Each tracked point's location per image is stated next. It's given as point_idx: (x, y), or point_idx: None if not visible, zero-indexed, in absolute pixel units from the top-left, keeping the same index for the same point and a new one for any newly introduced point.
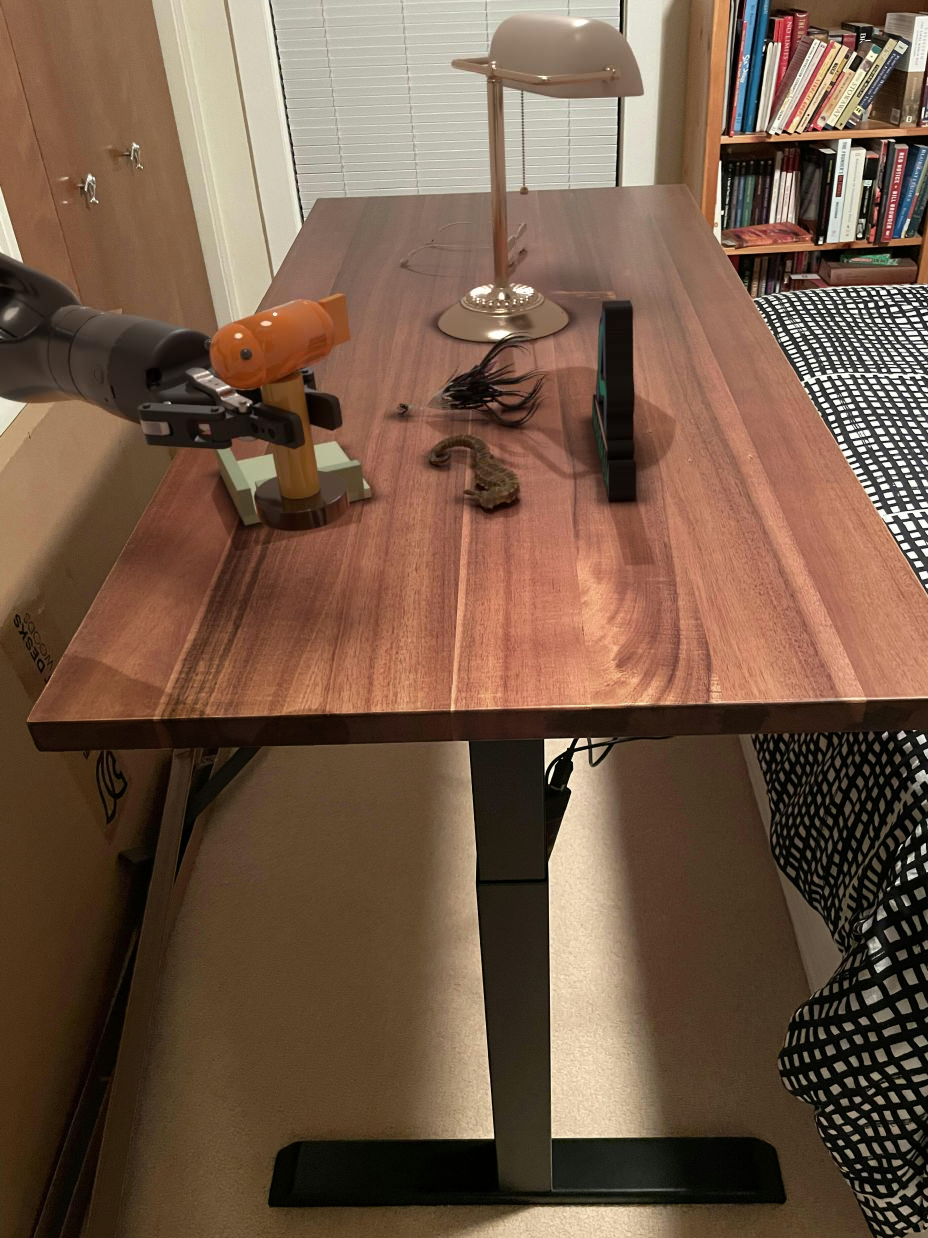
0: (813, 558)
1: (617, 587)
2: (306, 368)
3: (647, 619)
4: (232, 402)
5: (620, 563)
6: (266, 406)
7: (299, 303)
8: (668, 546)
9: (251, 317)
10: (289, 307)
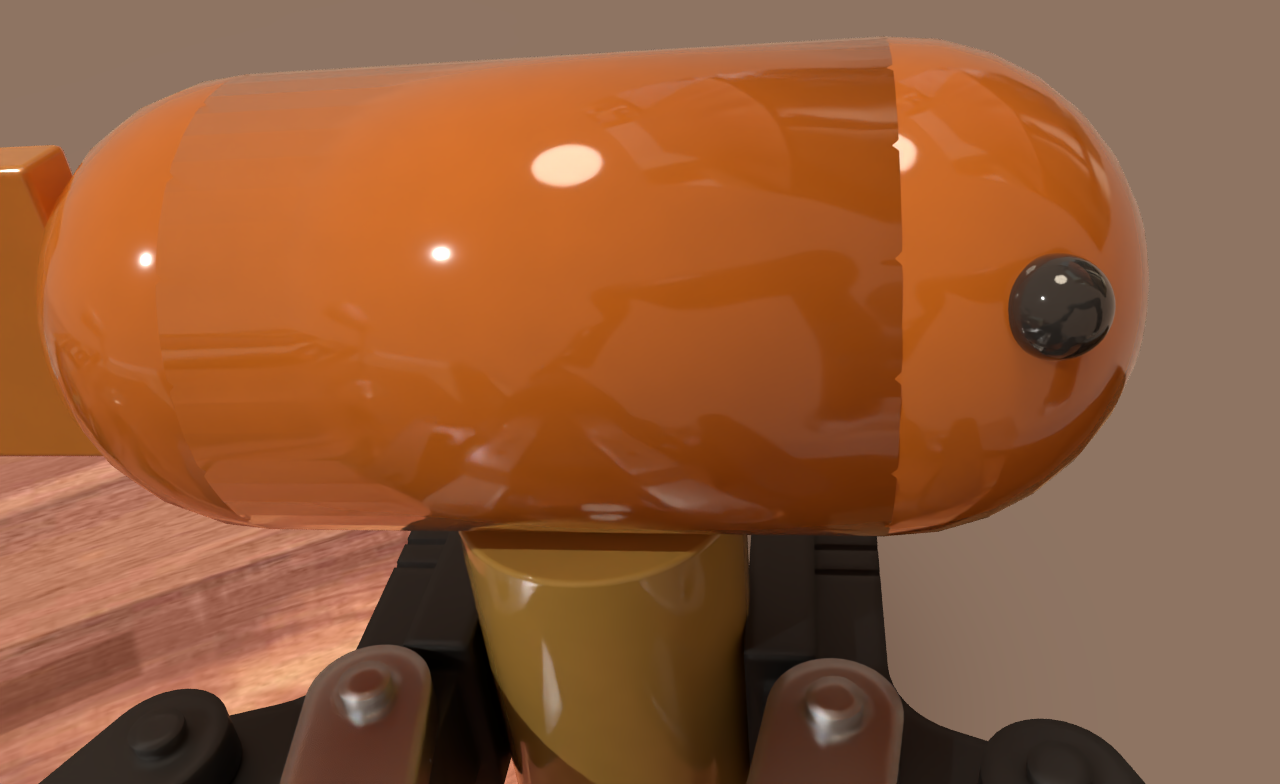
0: None
1: (246, 650)
2: (135, 726)
3: (361, 567)
4: (874, 771)
5: (131, 685)
6: (777, 588)
7: (277, 75)
8: (42, 638)
9: (713, 61)
10: (385, 67)
